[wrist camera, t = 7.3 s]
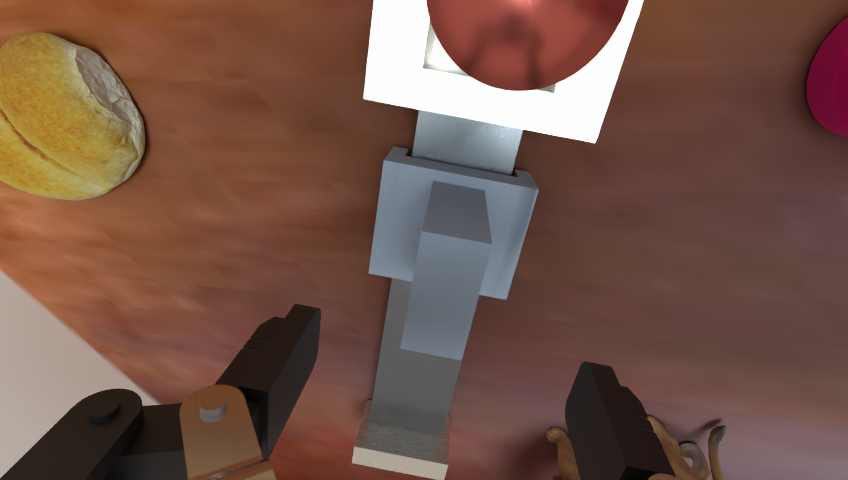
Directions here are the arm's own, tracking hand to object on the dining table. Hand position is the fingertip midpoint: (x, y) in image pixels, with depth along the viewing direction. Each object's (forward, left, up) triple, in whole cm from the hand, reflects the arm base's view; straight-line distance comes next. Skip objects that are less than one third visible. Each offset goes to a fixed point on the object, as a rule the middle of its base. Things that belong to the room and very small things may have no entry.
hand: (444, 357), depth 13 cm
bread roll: (+22, -1, -13) cm, 26 cm away
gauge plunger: (0, -10, -5) cm, 11 cm away
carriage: (0, 0, -13) cm, 13 cm away
